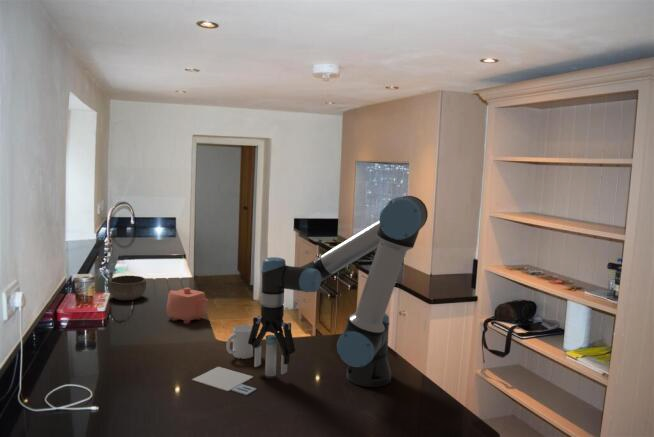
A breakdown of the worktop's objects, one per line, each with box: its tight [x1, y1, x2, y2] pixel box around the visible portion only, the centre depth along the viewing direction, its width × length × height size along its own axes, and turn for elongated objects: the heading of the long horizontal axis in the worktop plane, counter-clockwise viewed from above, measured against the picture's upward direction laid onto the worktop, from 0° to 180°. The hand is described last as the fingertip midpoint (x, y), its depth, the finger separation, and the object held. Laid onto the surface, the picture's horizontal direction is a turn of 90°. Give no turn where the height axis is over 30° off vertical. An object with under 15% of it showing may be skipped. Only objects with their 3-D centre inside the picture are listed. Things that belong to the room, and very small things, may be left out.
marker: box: [264, 334, 278, 380], centre depth 177 cm, size 4×4×14 cm
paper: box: [191, 366, 254, 392], centre depth 174 cm, size 15×13×1 cm
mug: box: [225, 324, 254, 360], centre depth 194 cm, size 12×8×10 cm
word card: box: [230, 383, 257, 396], centre depth 166 cm, size 6×5×1 cm
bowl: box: [108, 275, 147, 302], centre depth 265 cm, size 17×18×10 cm
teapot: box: [166, 287, 209, 325], centre depth 235 cm, size 22×13×14 cm, turn 61°
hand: (270, 369), depth 177 cm, fingers open, 10 cm apart
